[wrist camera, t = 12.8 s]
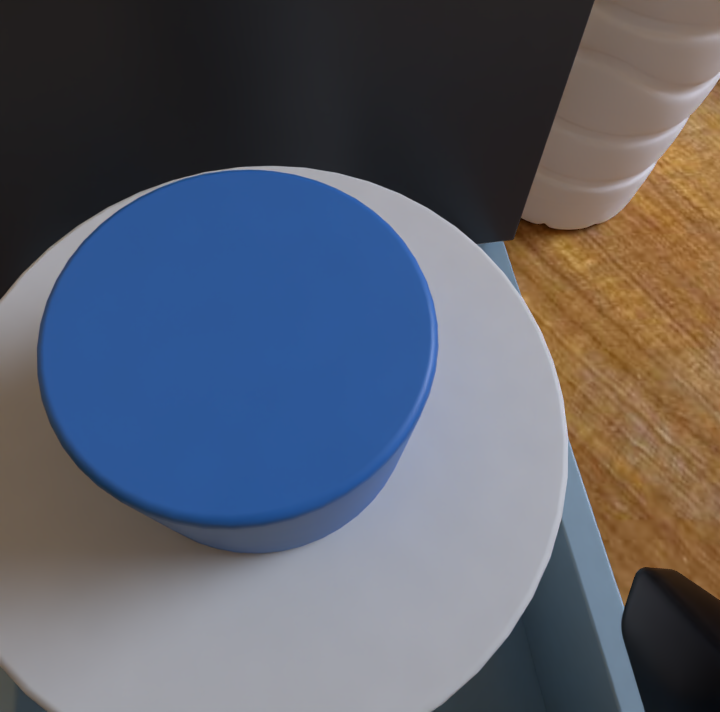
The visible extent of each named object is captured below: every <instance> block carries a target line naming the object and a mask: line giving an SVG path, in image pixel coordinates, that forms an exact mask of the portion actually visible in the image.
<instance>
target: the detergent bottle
mask: <svg viewBox="0 0 720 712" xmlns="http://www.w3.org/2000/svg"><path fill="white" fill-rule="evenodd" d="M567 479H568V433H567V425H566V417H565V409H564V401H563V396H562V392H561V388H560V384H559V380H558V377H557V373H556V369H555V365H554V362H553V359H552V357H551V355H550V352H549V350H548V347H547V345H546V342H545V340H544V337H543V335H542V332H541V330H540V328H539V326H538V324H537V323H536V321H535V319H534V317H533V316H532V314H531V312H530V310H529V308H528V307H527V305H526V303H525V301H524V300H523V298H522V297H521V295H520V294H519V293H518V291H517V290H516V289H515V287H514V286H513V285H512V283H511V282H510V280H509V279H508V278H507V276H506V275H505V274H504V272H503V271H502V270H501V269H500V268H499V267H498V266H497V265H496V264H495V263H494V262H493V260H492V259H491V258H490V257H489V256H488V255H487V254H486V253H485V252H484V251H483V250H482V249H481V248H480V247H479V246H478V245H477V244H476V243H474V242H473V241H472V240H471V239H470V238H468V237H467V236H466V235H465V234H464V233H463V232H461V231H460V230H459V229H458V228H457V227H455V226H454V225H452V224H451V223H449V222H448V221H446V220H445V219H443V218H442V217H440V216H439V215H437V214H436V213H434V212H433V211H432V210H430V209H429V208H427V207H425V206H423V205H421V204H419V203H417V202H415V201H413V200H411V199H409V198H407V197H405V196H404V195H402V194H400V193H397V192H395V191H392V190H389V189H387V188H384V187H382V186H379V185H377V184H374V183H372V182H369V181H365V180H361V179H358V178H354V177H350V176H347V175H343V174H339V173H334V172H328V171H322V170H316V169H310V168H301V167H285V166H255V167H237V168H230V169H223V170H216V171H209V172H203V173H199V174H195V175H191V176H187V177H183V178H179V179H175V180H172V181H169V182H166V183H163V184H160V185H158V186H155V187H152V188H149V189H146V190H144V191H141V192H139V193H136V194H134V195H132V196H130V197H128V198H126V199H124V200H122V201H120V202H118V203H116V204H113V205H111V206H109V207H107V208H106V209H104V210H103V211H101V212H99V213H98V214H96V215H94V216H93V217H91V218H89V219H88V220H86V221H85V222H83V223H81V224H80V225H78V226H77V227H75V228H74V229H73V230H71V231H70V232H69V233H68V234H66V235H65V236H64V237H62V238H61V239H60V240H58V241H57V242H56V243H55V244H53V245H52V246H51V247H49V248H48V249H47V250H46V251H45V252H44V253H43V254H42V255H41V256H40V257H39V258H38V259H37V260H36V261H35V262H34V263H33V264H31V265H30V266H29V267H28V268H27V269H26V270H25V271H24V272H23V273H22V274H21V275H20V277H19V278H18V279H17V280H16V281H15V283H14V284H13V285H12V286H11V287H10V289H9V290H8V291H7V292H6V293H5V295H4V296H3V297H2V298H1V299H0V667H1V668H2V669H3V670H4V671H5V672H6V673H7V674H8V675H9V677H10V678H11V679H12V680H13V681H14V682H15V683H16V684H17V685H18V686H19V688H20V689H21V690H22V691H23V692H24V693H25V694H26V695H27V696H28V697H29V698H31V699H32V700H33V701H34V702H36V703H37V704H38V705H39V706H41V707H42V708H43V709H45V710H46V711H47V712H432V711H433V710H435V709H436V708H438V707H439V706H441V705H442V704H443V703H445V702H446V701H447V700H448V699H449V698H450V697H451V696H452V695H453V694H455V693H456V692H457V691H458V690H459V689H460V688H461V687H462V686H463V685H465V684H466V683H467V682H468V681H469V680H470V679H471V678H472V677H474V676H475V675H476V674H477V673H478V672H479V671H480V670H481V669H482V667H483V666H484V665H485V664H486V663H487V661H488V660H489V659H490V658H491V657H492V655H493V654H494V653H495V652H496V651H497V649H498V648H499V647H500V646H501V645H502V643H503V642H504V641H505V640H506V639H507V637H508V636H509V635H510V633H511V632H512V630H513V628H514V627H515V625H516V624H517V622H518V620H519V619H520V617H521V615H522V614H523V612H524V611H525V609H526V607H527V606H528V604H529V603H530V601H531V599H532V598H533V596H534V593H535V591H536V589H537V587H538V584H539V582H540V580H541V578H542V575H543V573H544V571H545V569H546V566H547V564H548V562H549V560H550V557H551V554H552V550H553V547H554V543H555V540H556V536H557V533H558V529H559V526H560V522H561V519H562V514H563V507H564V500H565V493H566V486H567Z"/></svg>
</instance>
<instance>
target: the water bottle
mask: <svg viewBox="0 0 720 712" xmlns="http://www.w3.org/2000/svg"><path fill="white" fill-rule="evenodd" d="M719 78H720V0H595V1H594V4H593V7H592V10H591V13H590V16H589V19H588V22H587V25H586V28H585V31H584V33H583V36H582V39H581V42H580V45H579V48H578V51H577V54H576V57H575V60H574V63H573V66H572V69H571V72H570V75H569V78H568V81H567V83H566V86H565V89H564V92H563V95H562V98H561V101H560V104H559V107H558V110H557V113H556V116H555V119H554V122H553V125H552V128H551V131H550V134H549V136H548V139H547V142H546V145H545V148H544V151H543V154H542V157H541V160H540V163H539V166H538V169H537V172H536V175H535V178H534V181H533V184H532V186H531V189H530V192H529V195H528V198H527V201H526V204H525V207H524V210H523V213H522V216H521V218H522V219H524V220H526V221H529V222H531V223H535V224H542V223H545V224H546V225H547V226H548V227H551V228H554V229H565V230H571V229H582V228H587V227H589V226H591V225H593V224H600V223H603V222H605V221H607V220H609V219H610V218H612V217H613V216H615V215H616V214H617V213H619V212H620V211H621V210H622V209H623V208H624V207H625V206H626V205H627V203H628V202H629V201H630V200H631V198H632V197H633V196H634V194H635V193H636V192H637V190H638V189H639V188H640V186H641V185H642V184H643V182H644V181H645V180H646V178H647V177H648V175H649V174H650V172H651V171H652V169H653V168H654V166H655V164H656V162H657V160H658V159H659V158H660V157H661V156H662V155H663V154H664V153H665V151H666V150H667V149H668V148H669V146H670V145H671V144H672V143H673V141H674V140H675V139H676V137H677V136H678V134H679V133H680V131H681V130H682V128H683V127H684V125H685V124H686V122H687V120H688V118H689V116H690V115H691V114H692V113H693V112H694V111H695V110H696V109H697V108H698V107H699V105H700V104H701V103H702V102H703V101H704V99H705V98H706V97H707V95H708V94H709V93H710V91H711V90H712V89H713V87H714V86H715V84H716V83H717V81H718V80H719Z"/></svg>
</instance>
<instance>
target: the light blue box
mask: <svg viewBox="0 0 720 712" xmlns="http://www.w3.org/2000/svg"><path fill="white" fill-rule="evenodd" d="M477 245H478V246H479V247H480V248H481V249H482V250H483V251H484V252H485V253H486V254H487V255H488V256H489V257H490V258H491V259H492V260H493V262H494V263H495V264H496V265H497V266H498V267H499V268H500V269H501V270H502V271H503V272H504V274H505V275H506V276H507V278H508V279H509V280H510V282H511V283H512V285H513V286H514V287H515V289H516V290H517V291H518V293H519V294H520V291H519V287H518V284H517V281H516V278H515V275H514V272H513V269H512V266H511V263H510V260H509V257H508V254H507V251H506V248H505V245H504V243H503V242H502V241H500V242H491V243H483V244H477ZM520 295H521V294H520ZM623 611H624V605H623V602H622V599H621V596H620V593H619V590H618V587H617V584H616V581H615V578H614V575H613V572H612V569H611V566H610V563H609V560H608V557H607V554H606V551H605V548H604V544H603V541H602V538H601V535H600V532H599V529H598V526H597V523H596V520H595V517H594V514H593V511H592V508H591V505H590V502H589V499H588V496H587V493H586V490H585V487H584V484H583V481H582V478H581V475H580V472H579V469H578V466H577V463H576V460H575V457H574V454H573V451H572V448H571V445H570V442H569V439H568V479H567V486H566V493H565V500H564V507H563V514H562V519H561V522H560V526H559V529H558V533H557V536H556V540H555V543H554V547H553V550H552V554H551V557H550V560H549V562H548V564H547V566H546V569H545V571H544V573H543V575H542V578H541V580H540V582H539V584H538V587H537V589H536V591H535V593H534V596H533V598H532V599H531V601H530V603H529V604H528V606H527V607H526V609H525V611H524V612H523V614H522V615H521V617H520V619H519V620H518V622H517V624H516V625H515V627H514V628H513V630H512V632H511V633H510V635H509V636H508V637H507V639H506V640H505V641H504V642H503V643H502V645H501V646H500V647H499V648H498V649H497V651H496V652H495V653H494V654H493V655H492V657H491V658H490V659H489V660H488V661H487V663H486V664H485V665H484V666H483V667H482V669H481V670H480V671H479V672H478V673H477V674H476V675H475V676H474V677H472V678H471V679H470V680H469V681H468V682H467V683H466V684H465V685H463V686H462V687H461V688H460V689H459V690H458V691H457V692H456V693H455V694H453V695H452V696H451V697H450V698H449V699H448V700H447V701H446V702H445V703H443V704H442V705H441V706H439V707H438V708H436V709H435V710H433V711H432V712H645V711H644V707H643V704H642V701H641V697H640V694H639V691H638V687H637V684H636V681H635V677H634V674H633V671H632V667H631V664H630V661H629V657H628V654H627V651H626V647H625V644H624V641H623V637H622V631H621V619H622V614H623ZM0 712H47V711H46V710H45V709H43V708H42V707H41V706H39V705H38V704H37V703H36V702H34V701H33V700H32V699H31V698H29V697H28V696H27V695H26V694H25V693H24V692H23V691H22V690H21V689H20V688H19V686H18V685H17V684H16V683H15V682H14V681H13V680H12V679H11V678H10V677H9V675H8V674H7V673H6V672H5V671H4V670H3V669H2V668H1V667H0Z"/></svg>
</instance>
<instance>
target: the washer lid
mask: <svg viewBox="0 0 720 712" xmlns="http://www.w3.org/2000/svg"><path fill="white" fill-rule="evenodd" d="M594 1H595V0H0V299H1V298H2V297H3V296H4V295H5V293H6V292H7V291H8V290H9V289H10V287H11V286H12V285H13V284H14V283H15V281H16V280H17V279H18V278H19V277H20V275H21V274H22V273H23V272H24V271H25V270H26V269H27V268H28V267H29V266H30V265H31V264H33V263H34V262H35V261H36V260H37V259H38V258H39V257H40V256H41V255H42V254H43V253H44V252H45V251H46V250H47V249H48V248H49V247H51V246H52V245H53V244H55V243H56V242H57V241H58V240H60V239H61V238H62V237H64V236H65V235H66V234H68V233H69V232H70V231H71V230H73V229H74V228H75V227H77V226H78V225H80V224H81V223H83V222H85V221H86V220H88V219H89V218H91V217H93V216H94V215H96V214H98V213H99V212H101V211H103V210H104V209H106V208H107V207H109V206H111V205H113V204H116V203H118V202H120V201H122V200H124V199H126V198H128V197H130V196H132V195H134V194H136V193H139V192H141V191H144V190H146V189H149V188H152V187H155V186H158V185H160V184H163V183H166V182H169V181H172V180H175V179H179V178H183V177H187V176H191V175H195V174H199V173H203V172H209V171H216V170H223V169H230V168H237V167H255V166H285V167H301V168H310V169H316V170H322V171H328V172H334V173H339V174H343V175H347V176H350V177H354V178H358V179H361V180H365V181H369V182H372V183H374V184H377V185H379V186H382V187H384V188H387V189H389V190H392V191H395V192H397V193H400V194H402V195H404V196H405V197H407V198H409V199H411V200H413V201H415V202H417V203H419V204H421V205H423V206H425V207H427V208H429V209H430V210H432V211H433V212H434V213H436V214H437V215H439V216H440V217H442V218H443V219H445V220H446V221H448V222H449V223H451V224H452V225H454V226H455V227H457V228H458V229H459V230H460V231H461V232H463V233H464V234H465V235H466V236H467V237H468V238H470V239H471V240H472V241H473V242H474V243H476V244H481V243H490V242H498V241H507V240H513V239H514V236H515V234H516V231H517V228H518V225H519V222H520V219H521V216H522V213H523V210H524V207H525V204H526V201H527V198H528V195H529V192H530V189H531V186H532V184H533V181H534V178H535V175H536V172H537V169H538V166H539V163H540V160H541V157H542V154H543V151H544V148H545V145H546V142H547V139H548V136H549V134H550V131H551V128H552V125H553V122H554V119H555V116H556V113H557V110H558V107H559V104H560V101H561V98H562V95H563V92H564V89H565V86H566V83H567V81H568V78H569V75H570V72H571V69H572V66H573V63H574V60H575V57H576V54H577V51H578V48H579V45H580V42H581V39H582V36H583V33H584V31H585V28H586V25H587V22H588V19H589V16H590V13H591V10H592V7H593V4H594Z"/></svg>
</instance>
